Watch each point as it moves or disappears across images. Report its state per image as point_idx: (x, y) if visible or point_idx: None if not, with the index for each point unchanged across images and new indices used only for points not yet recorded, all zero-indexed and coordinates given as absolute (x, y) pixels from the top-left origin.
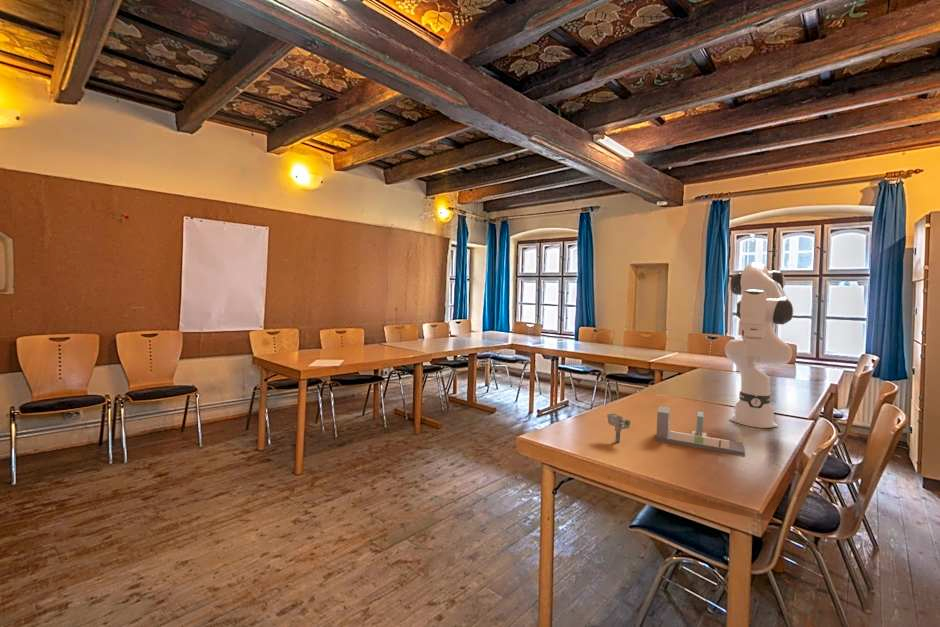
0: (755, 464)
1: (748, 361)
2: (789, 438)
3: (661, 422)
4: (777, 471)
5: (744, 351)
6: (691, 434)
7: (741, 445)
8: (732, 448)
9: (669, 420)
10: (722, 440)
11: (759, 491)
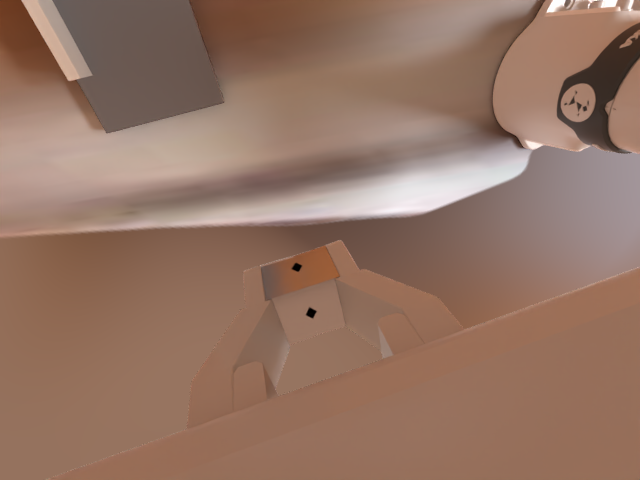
0: (58, 172)
1: (233, 334)
2: (424, 191)
3: None
4: (62, 227)
5: (505, 364)
6: None
7: (183, 107)
8: (105, 87)
9: None
10: (51, 51)
11: None
